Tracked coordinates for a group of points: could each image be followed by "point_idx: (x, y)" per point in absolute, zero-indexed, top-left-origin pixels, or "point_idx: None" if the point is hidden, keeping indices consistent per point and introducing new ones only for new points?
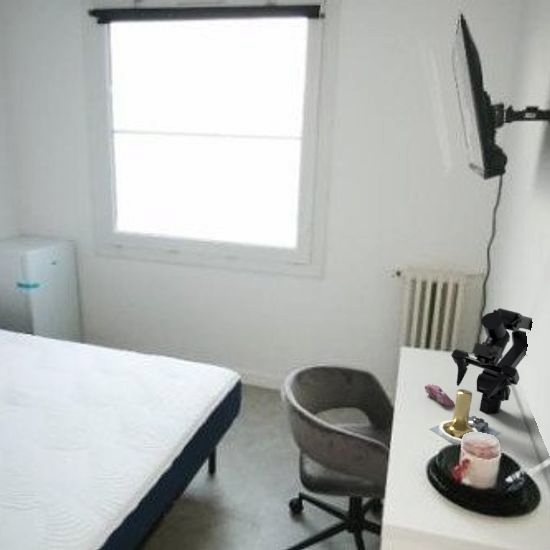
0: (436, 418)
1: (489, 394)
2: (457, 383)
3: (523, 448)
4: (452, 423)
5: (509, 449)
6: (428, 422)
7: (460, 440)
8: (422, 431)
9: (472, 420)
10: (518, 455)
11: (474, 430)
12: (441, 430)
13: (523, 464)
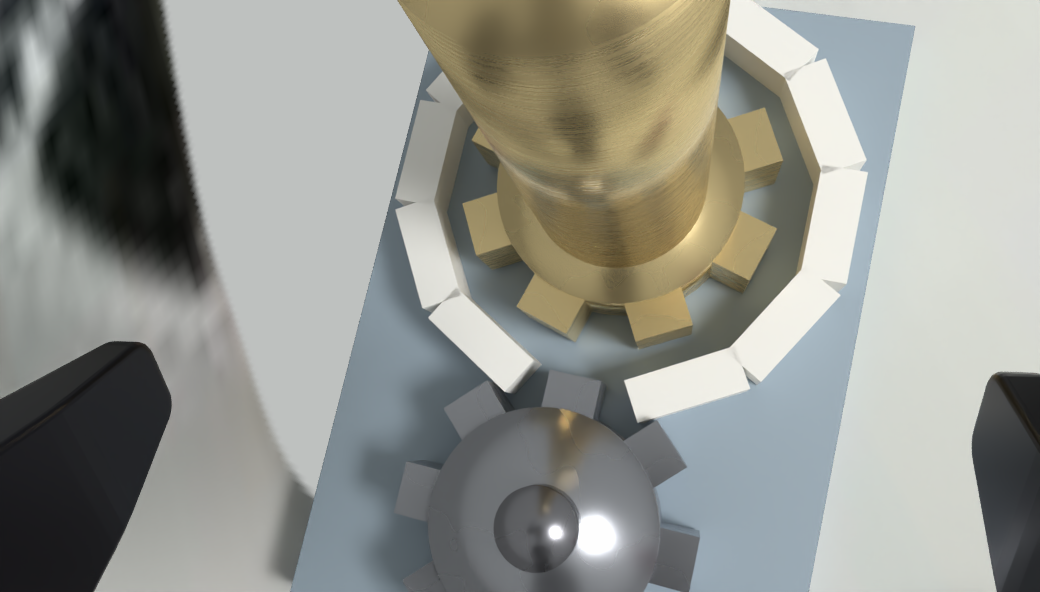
0: None
1: (78, 358)
2: (1023, 383)
3: None
4: (724, 201)
5: None
6: (1032, 238)
7: None
8: (963, 5)
9: (586, 522)
10: None
11: (486, 328)
12: (764, 19)
13: (24, 249)
